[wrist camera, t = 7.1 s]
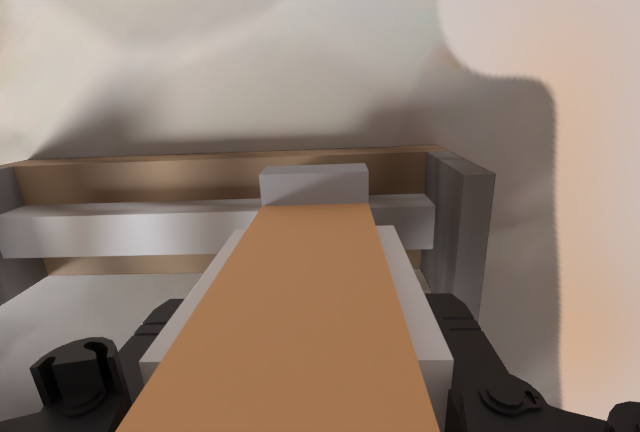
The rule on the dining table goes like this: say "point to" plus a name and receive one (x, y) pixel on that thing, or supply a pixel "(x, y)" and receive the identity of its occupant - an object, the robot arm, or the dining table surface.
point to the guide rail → (228, 212)
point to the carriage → (295, 325)
